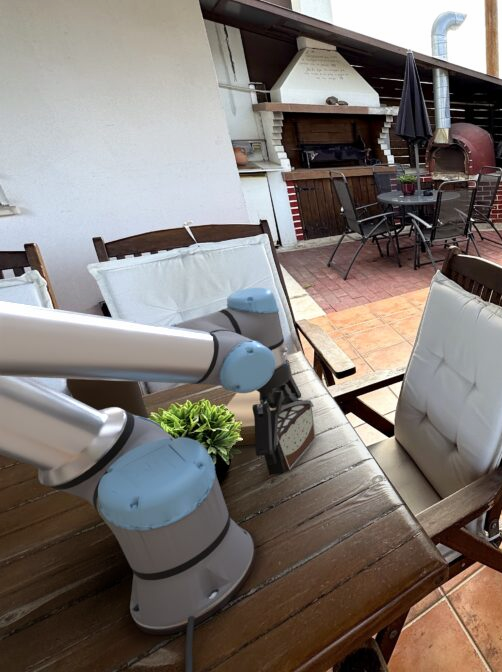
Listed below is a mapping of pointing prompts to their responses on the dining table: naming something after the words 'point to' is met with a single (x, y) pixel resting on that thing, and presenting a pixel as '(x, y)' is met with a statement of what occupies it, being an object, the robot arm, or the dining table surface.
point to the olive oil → (108, 395)
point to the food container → (295, 431)
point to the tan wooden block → (245, 414)
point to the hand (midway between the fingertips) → (288, 450)
